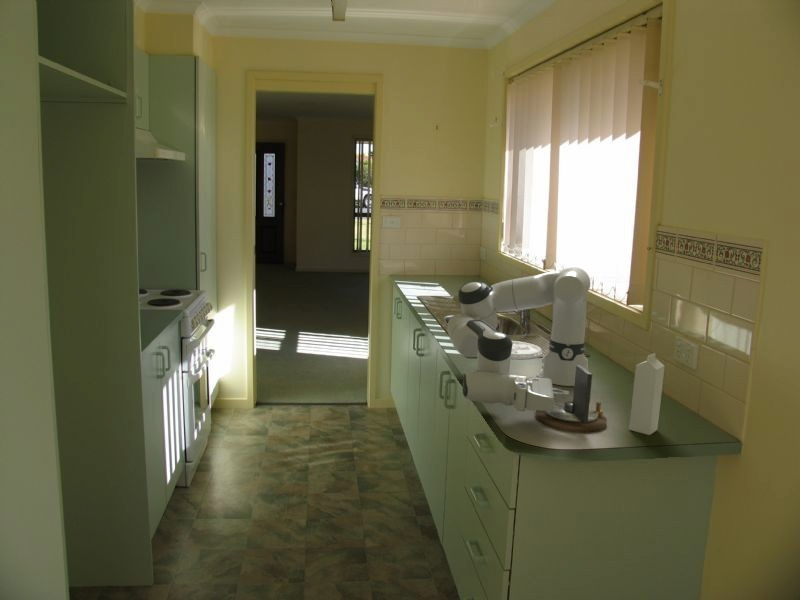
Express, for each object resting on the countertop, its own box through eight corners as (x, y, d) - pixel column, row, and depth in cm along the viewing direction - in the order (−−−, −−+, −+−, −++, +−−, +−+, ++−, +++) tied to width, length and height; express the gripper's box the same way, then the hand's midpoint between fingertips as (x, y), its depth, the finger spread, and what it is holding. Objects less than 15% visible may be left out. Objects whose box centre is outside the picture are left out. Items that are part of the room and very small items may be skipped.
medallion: (554, 357, 284) (554, 351, 284) (499, 363, 271) (499, 357, 271) (516, 343, 304) (516, 338, 304) (463, 348, 291) (463, 343, 291)
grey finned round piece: (538, 405, 216) (542, 356, 213) (591, 406, 218) (596, 357, 215) (558, 427, 197) (563, 373, 195) (616, 427, 200) (622, 374, 197)
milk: (657, 430, 205) (666, 354, 201) (649, 435, 200) (658, 358, 196) (636, 424, 208) (645, 350, 205) (628, 429, 204) (637, 353, 200)
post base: (535, 406, 221) (536, 390, 220) (602, 412, 218) (604, 396, 217) (535, 428, 201) (537, 410, 201) (609, 435, 198) (611, 418, 197)
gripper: (518, 390, 215) (566, 395, 212) (518, 412, 195) (570, 418, 193) (520, 370, 213) (568, 374, 211) (520, 390, 194) (572, 395, 191)
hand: (569, 395), depth 202 cm, fingers closed
